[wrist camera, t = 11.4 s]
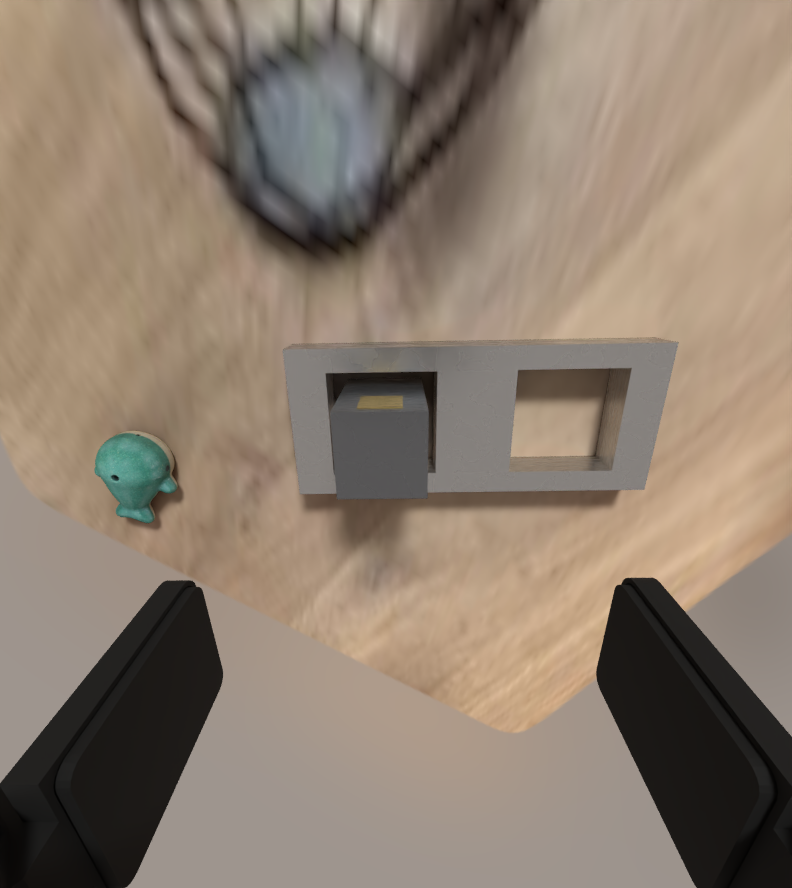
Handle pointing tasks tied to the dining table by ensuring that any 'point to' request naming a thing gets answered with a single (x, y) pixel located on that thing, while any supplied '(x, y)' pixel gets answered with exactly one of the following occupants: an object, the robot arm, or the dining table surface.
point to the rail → (490, 409)
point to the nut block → (381, 439)
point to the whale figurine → (136, 472)
